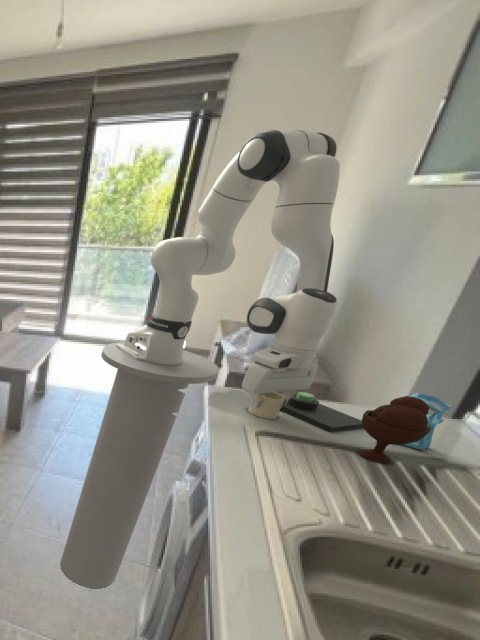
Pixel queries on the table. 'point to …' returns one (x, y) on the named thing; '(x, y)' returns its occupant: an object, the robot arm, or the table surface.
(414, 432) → the ice cream bowl
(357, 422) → the scale
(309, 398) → the tare button
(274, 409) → the cream bowl
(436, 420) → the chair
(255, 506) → the table surface
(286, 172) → the robot arm
